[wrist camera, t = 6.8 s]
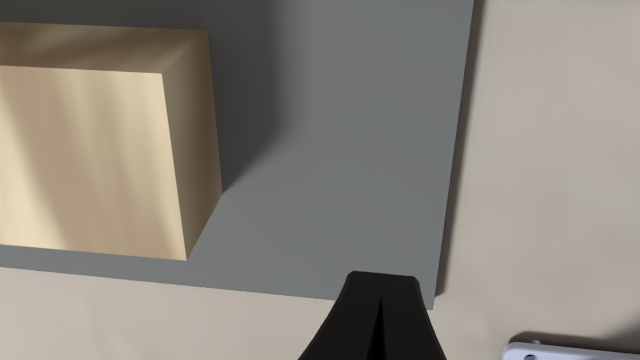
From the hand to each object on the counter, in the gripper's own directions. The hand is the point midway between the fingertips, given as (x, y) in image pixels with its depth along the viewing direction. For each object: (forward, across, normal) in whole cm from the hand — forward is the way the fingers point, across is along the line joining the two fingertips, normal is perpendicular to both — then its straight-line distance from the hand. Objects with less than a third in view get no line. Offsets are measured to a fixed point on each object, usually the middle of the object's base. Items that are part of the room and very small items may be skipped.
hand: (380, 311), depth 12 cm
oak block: (+7, +6, 0) cm, 9 cm away
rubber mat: (+9, +7, 0) cm, 12 cm away
